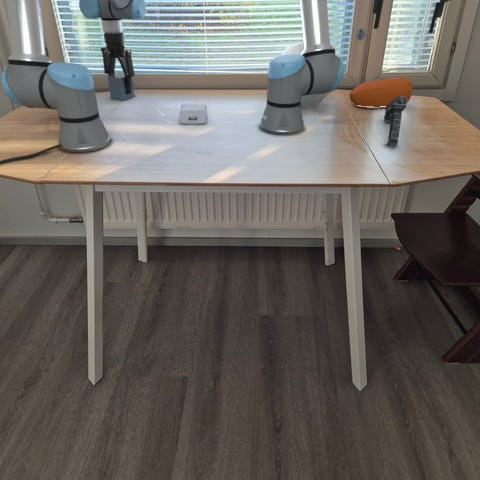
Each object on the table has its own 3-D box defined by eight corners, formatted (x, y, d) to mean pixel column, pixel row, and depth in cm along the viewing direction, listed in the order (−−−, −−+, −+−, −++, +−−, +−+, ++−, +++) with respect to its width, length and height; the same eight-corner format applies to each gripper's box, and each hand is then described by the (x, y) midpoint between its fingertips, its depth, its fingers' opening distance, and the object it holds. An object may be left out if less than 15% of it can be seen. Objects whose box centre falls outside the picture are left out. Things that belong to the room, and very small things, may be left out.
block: (134, 96, 175) (131, 74, 170) (122, 100, 169) (119, 78, 164) (122, 94, 177) (119, 72, 172) (110, 98, 171) (107, 76, 166)
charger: (207, 110, 158) (206, 123, 146) (183, 110, 158) (180, 123, 146) (206, 98, 156) (205, 110, 143) (182, 98, 155) (179, 110, 143)
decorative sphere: (262, 73, 173) (275, 25, 150) (318, 71, 177) (338, 25, 154) (272, 121, 166) (286, 79, 143) (329, 118, 170) (353, 77, 147)
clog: (353, 116, 162) (414, 107, 163) (355, 88, 156) (419, 80, 157) (344, 107, 172) (401, 99, 173) (345, 80, 165) (405, 72, 166)
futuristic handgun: (389, 146, 153) (397, 104, 149) (399, 145, 125) (409, 94, 122) (379, 144, 154) (386, 103, 150) (386, 144, 126) (395, 93, 122)
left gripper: (139, 32, 158) (146, 93, 171) (100, 29, 165) (110, 87, 178) (126, 35, 153) (135, 97, 166) (87, 31, 159) (98, 91, 173)
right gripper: (485, -73, 91) (455, 32, 103) (373, -72, 100) (357, 25, 112) (486, -76, 86) (454, 36, 98) (366, -74, 94) (351, 28, 106)
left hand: (122, 92), depth 172 cm, fingers closed on block, 6 cm apart
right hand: (402, 30), depth 105 cm, fingers open, 13 cm apart
